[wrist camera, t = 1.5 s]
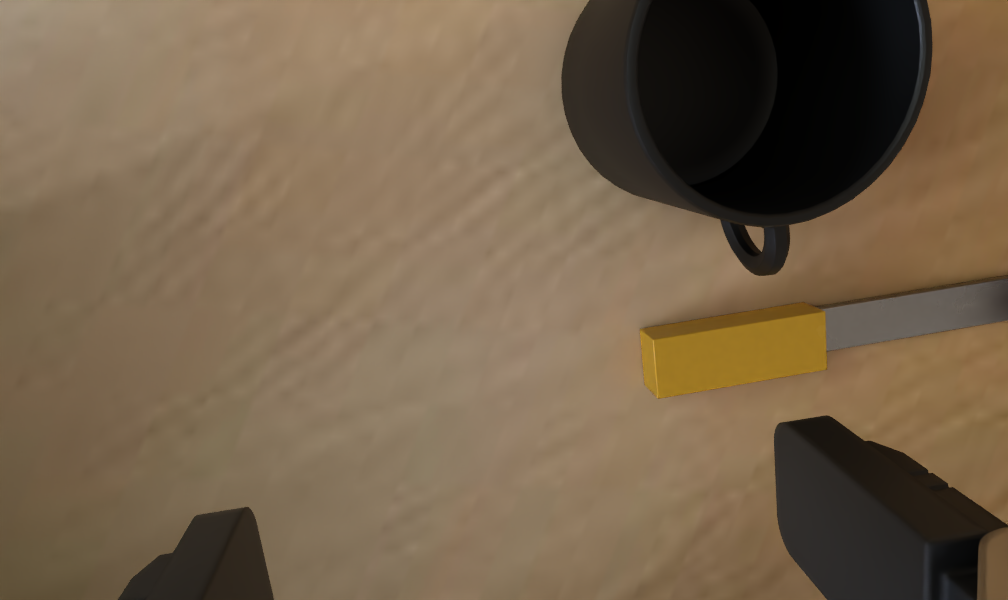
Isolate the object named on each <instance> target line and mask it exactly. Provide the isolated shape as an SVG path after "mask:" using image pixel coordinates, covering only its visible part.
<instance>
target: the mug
mask: <svg viewBox="0 0 1008 600" xmlns="http://www.w3.org/2000/svg"><path fill="white" fill-rule="evenodd" d="M931 61H932V27H931V18H930V13H929V8H928V3H927V0H590V1H589V2H588V4H587V5H586V7H585V8H584V10H583V11H582V13H581V14H580V16H579V18H578V20H577V21H576V24H575V26H574V28H573V30H572V32H571V35H570V37H569V41H568V44H567V48H566V51H565V56H564V61H563V68H562V99H563V105H564V111H565V116H566V119H567V122H568V125H569V128H570V130H571V133H572V135H573V137H574V139H575V141H576V143H577V145H578V147H579V149H580V150H581V152H582V153H583V155H584V156H585V157H586V159H587V160H588V161H589V163H590V164H591V165H592V166H593V167H594V168H595V169H596V170H597V171H598V172H599V173H600V174H601V175H602V176H603V177H604V178H606V179H607V180H609V181H610V182H611V183H613V184H614V185H616V186H617V187H619V188H621V189H623V190H625V191H627V192H629V193H631V194H633V195H637V196H640V197H644V198H647V199H651V200H654V201H658V202H661V203H665V204H668V205H672V206H675V207H679V208H682V209H686V210H689V211H693V212H696V213H700V214H703V215H707V216H710V217H714V218H717V219H720V220H721V224H722V227H723V230H724V233H725V236H726V238H727V240H728V242H729V244H730V246H731V248H732V250H733V252H734V253H735V255H736V256H737V257H738V259H739V260H740V262H741V263H742V264H743V266H744V267H745V268H746V269H748V270H749V271H750V272H751V273H753V274H755V275H758V276H766V275H774V274H776V273H778V272H779V271H780V269H781V268H782V267H783V265H784V263H785V260H786V258H787V255H788V251H789V245H790V232H789V225H791V224H796V223H800V222H805V221H809V220H811V219H814V218H817V217H819V216H822V215H824V214H827V213H829V212H831V211H833V210H835V209H837V208H838V207H840V206H842V205H844V204H845V203H847V202H849V201H851V200H852V199H854V198H855V197H856V196H857V195H859V194H860V193H861V192H862V191H864V190H865V189H866V188H867V187H869V186H870V185H871V184H872V183H873V182H874V181H875V180H876V179H877V178H878V177H879V176H880V175H881V174H882V173H883V172H884V171H885V170H886V169H887V168H888V167H889V165H890V164H891V163H892V161H893V160H894V158H895V157H896V156H897V154H898V153H899V151H900V150H901V149H902V147H903V145H904V144H905V142H906V140H907V138H908V137H909V135H910V133H911V131H912V129H913V127H914V125H915V123H916V121H917V118H918V116H919V113H920V110H921V108H922V105H923V102H924V98H925V95H926V91H927V86H928V82H929V78H930V72H931ZM745 225H747V226H756V227H762V228H764V247H763V250H762V252H761V251H760V250H759V249H758V248H757V247H756V246H755V244H754V243H753V241H752V240H751V238H750V236H749V234H748V232H747V230H746V228H745Z"/></svg>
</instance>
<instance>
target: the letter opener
mask: <svg viewBox="0 0 1008 600" xmlns="http://www.w3.org/2000/svg"><path fill="white" fill-rule="evenodd" d="M1007 320H1008V275H1006V276H1000V277H994V278H988V279H982V280H976V281H970V282H963V283H957V284H951V285H945V286H939V287H933V288H927V289H921V290H915V291H909V292H903V293H896V294H890V295H884V296H878V297H872V298H866V299H860V300H854V301H848V302H842V303H836V304H829V305H823V306H817V307H814V306H812V305H809V304H807V303H805V302H801V303H795V304H789V305H783V306H776V307H770V308H764V309H758V310H752V311H746V312H740V313H734V314H727V315H721V316H715V317H709V318H703V319H697V320H691V321H685V322H678V323H672V324H666V325H660V326H654V327H648V328H642V329H640V338H641V349H642V360H643V372H644V383H645V386H646V387H647V388H648V389H649V390H650V391H651V392H652V393H653V394H654V395H655V396H656V397H657V398H658V399H660V398H666V397H671V396H677V395H683V394H689V393H695V392H700V391H706V390H712V389H718V388H723V387H729V386H735V385H741V384H746V383H752V382H758V381H764V380H770V379H775V378H781V377H787V376H793V375H798V374H804V373H810V372H816V371H821V370H827V351H832V350H837V349H843V348H849V347H855V346H861V345H867V344H873V343H878V342H884V341H890V340H896V339H902V338H908V337H914V336H919V335H925V334H931V333H937V332H943V331H949V330H955V329H960V328H966V327H972V326H978V325H984V324H990V323H996V322H1001V321H1007Z"/></svg>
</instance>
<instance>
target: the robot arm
mask: <svg viewBox="0 0 1008 600" xmlns="http://www.w3.org/2000/svg"><path fill="white" fill-rule="evenodd" d="M774 452H775V475H776V498H777V518H778V524H779V529H780V533H781V536H782V539H783V542H784V544H785V546H786V548H787V550H788V552H789V554H790V555H791V557H792V558H793V559H794V561H795V562H796V563H797V564H798V565H799V567H800V568H801V569H802V570H803V571H804V573H805V574H806V575H807V576H808V577H809V579H810V580H811V581H812V582H813V583H814V584H815V586H816V587H817V588H818V589H819V590H820V592H821V593H822V594H823V595H824V596H825V598H826V599H827V600H1008V525H1007V524H1005V523H1004V522H1002V521H1001V520H999V519H998V518H997V517H995V516H994V515H992V514H991V513H989V512H988V511H987V510H985V509H984V508H982V507H981V506H979V505H978V504H976V503H975V502H974V501H972V500H971V499H969V498H968V497H966V496H965V495H963V494H962V493H961V492H959V491H958V490H956V489H955V488H953V487H952V488H949V487H948V483H946V482H945V481H943V480H942V479H940V478H939V477H938V476H936V475H935V474H933V473H928V470H927V469H926V468H925V467H923V466H922V465H920V464H919V463H917V462H916V461H915V460H913V459H912V458H910V457H909V456H907V455H906V454H904V453H903V452H900V451H897V450H894V449H892V448H889V447H886V446H883V445H880V444H878V443H875V442H872V441H864V440H862V439H861V438H860V437H858V436H857V435H856V434H854V433H853V432H851V431H850V430H849V429H847V428H846V427H845V426H843V425H842V424H840V423H839V422H838V421H836V420H835V419H834V418H832V417H830V416H820V417H814V418H807V419H801V420H795V421H789V422H782V423H779V424H778V425H777V427H776V429H775V434H774ZM118 600H274V598H273V593H272V589H271V584H270V580H269V576H268V571H267V567H266V562H265V558H264V553H263V549H262V544H261V540H260V535H259V531H258V527H257V522H256V519H255V516H254V514H253V512H252V510H251V509H250V508H249V507H244V508H238V509H232V510H225V511H219V512H213V513H207V514H200V515H196V516H195V517H194V518H193V519H192V521H191V523H190V525H189V526H188V528H187V530H186V531H185V533H184V535H183V537H182V538H181V540H180V542H179V543H178V545H177V547H176V548H175V550H174V552H173V553H169V554H163V555H159V556H158V557H157V558H156V559H155V560H153V561H152V562H151V563H150V564H148V565H147V566H146V567H145V568H144V569H142V570H141V571H140V572H139V573H138V574H136V575H135V576H134V577H133V578H132V579H131V580H130V582H129V583H128V585H127V586H126V588H125V589H124V591H123V593H122V594H121V596H120V597H119V599H118Z"/></svg>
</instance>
